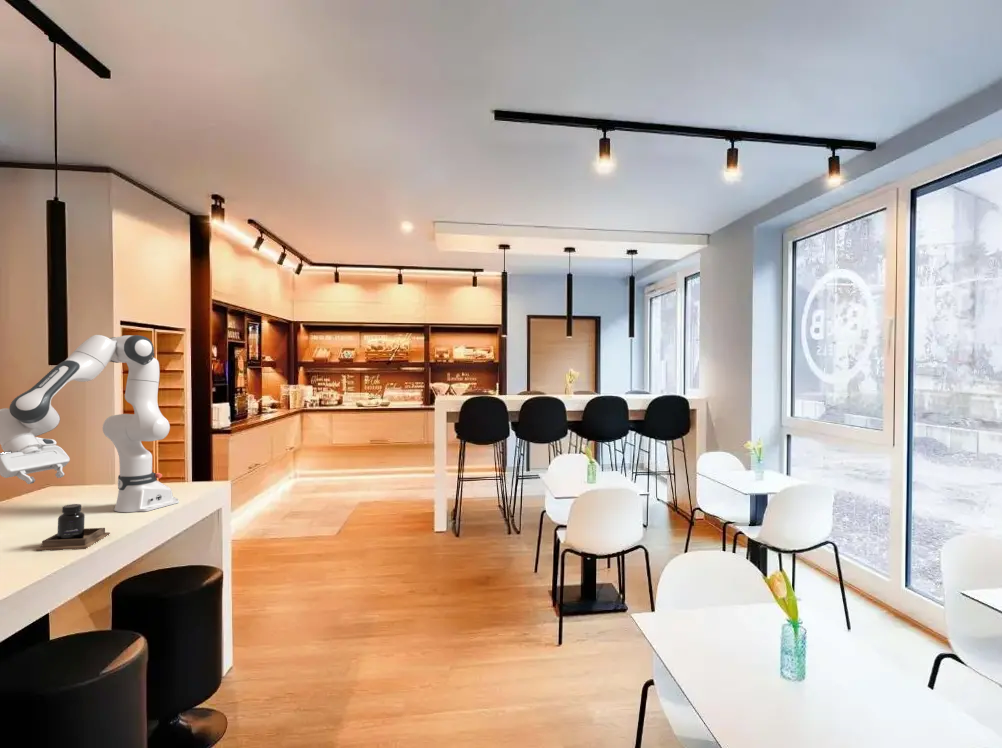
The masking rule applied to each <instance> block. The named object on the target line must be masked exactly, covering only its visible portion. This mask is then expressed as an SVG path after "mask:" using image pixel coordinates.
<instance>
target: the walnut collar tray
mask: <svg viewBox="0 0 1002 748" xmlns="http://www.w3.org/2000/svg"><path fill="white" fill-rule="evenodd" d="M57 534H58V532H57V533H56V534H55V533H54V535H51V536H50V537H47V538H45V539H43V540H42V541H41V545H40V546H39V547H37V548H36V549H35V550H36V551H35V552H43V551H42V550H50V551H64V550H63V549H72V550H87V549H89V548H90V547H91V545H92V546H94V545H95V544H97V543H99V542H100V541H102V540H103V539H105V538H106V536H107V535H108V536H110V535H109V534H111V532H106V528H105V527H91V528H90V527H88V528H84V538H83V539H60V540H57ZM108 536H107V537H108ZM104 537H105V538H104ZM101 539H102V540H101ZM99 540H100V541H99ZM98 541H99V542H98ZM96 542H97V543H96ZM94 543H95V544H94ZM93 544H94V545H93ZM88 547H89V548H88ZM86 548H87V549H86ZM39 550H41V551H39Z"/></svg>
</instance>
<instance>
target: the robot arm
mask: <svg viewBox="0 0 1002 748" xmlns="http://www.w3.org/2000/svg"><path fill="white" fill-rule="evenodd" d="M109 363H122V364H123V363H124V364H126V366H127V368H128V374H127V379H126V385H125V394H124V399H125V401H126V402H127V403H128V404H130V405H131V406H132V408H133V411H134V412H133V413H134V414H130V413H121V414H120V413H119V414H115V415H111V416H108V417H107V418H106V419H105V420H104V422H103V424H102V433H103V434H104V436H105V437H106V438H108V439H109V440H110V441H111V442H112V444H113V446H114V447H115V449H116V451H117V454H118V462H119V464H118V465H119V475H118V478H117V489H118V493H117V498H116V499H117V500H116V503H115V506H114V508H113V511H115V512H118V513H134V512H149V511H153V510H157V509H161V508H164V507H168V506H171V505H175V504H179V503H180V500H179V498H177V497H174V496H173V490H172V488H171V487H169V486H168V485H165V484H164V483H162V482H160V481H159V480H157V479H161V478H162V477H163V474H162V473H160V472H157V473H156V472H153V454H152V453H151V452H150V450H148V449H146V448H145V446H144V445H143V443H142V442H154V441H155V442H156V441H162V440H163V439H165V438H166V437H167V436H168V435H169V432H170V430H171V425H170V422H169V420H168V419H167V418H166V417H165V416H164V415H163V413H162V412H161V410H160V407H159V403H158V393H159V383H160V374H161V373H160V371H161V370H160V362H159V360H158V359H157V358H156V357H155V347H154V345H153V342H152V340H151V339H150V338H148V337H146V336H143V335H138V334H134V335H129V334H128V335H126V334H125V335H122V336H116V337H115V336H113V337H108V336H105V335H101V334H95V335H94V334H93V335H91V336H90V337H88V338H87V339H86V340H85V341H83V342H82V343H81V344H80V345H79V346H77V348H76V349H75V350H74V351H73V352H72V353H71V354H70V355H69V356H68V357H67V358H66V359H65V360H64V361H61V362H60V363H58V364H57V365H55V366H54V367H53V368H52V369H50V371H48V372H47V373H46V374H45V376H43V377H42V378H41V379H39V380H38V382H37V383H36V384H34V385H33V386H32V387H31V388H30V389H28V390H27V391H25V392H23V393H20V394H19V395H17V396H16V397H15V398H13V399H12V401H11V402H10V404H9V408H7V407H5V408H0V447H1V450H3V452H0V476H1V478H4V479H7V478H12V477H13V478H14V477H17V478H18V479H19V480H21V481H25V483H26V484H27V485H31V484H34V483H35V482H36V479H35V477H34V476H30V474H33V473H39V472H44V471H49V470H54V471H56V473H55V474H54V476H55V477H56V478H57V479H59V478H63V477H64V476H65V472H64V471H63V468H64V467H66V466H67V465H68V464H69V463H70V461H71V458H70V456H69V455H68V453H67V452H66V451H65V450H64V449H63V448H62V447H61V446H59V445H58V444H57V441H56V440H55V439H53V438H52V439H51V438H43V437H38V436H40V435H43V434H47V433H49V432H51V431H53V430H55V429H56V428H57V427H58V426H59V424H60V421H61V417H60V414H59V412H58V411H57V410H56V409H55V408H54V406H53V405H52V399H53V398H54V396H55V395H57V393H58V392H59V391H61V389H63V388H64V386H65V385H66V384H68V383H69V382H72V381H76V382H90V381H94V380H95V378H97V377H98V376H100V374H101V373H102V372H103V370H104V369H105V368H106V367H107V366H108V364H109Z"/></svg>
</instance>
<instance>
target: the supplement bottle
mask: <svg viewBox="0 0 1002 748" xmlns="http://www.w3.org/2000/svg"><path fill="white" fill-rule="evenodd" d="M61 509H62V511H61V512H62V514H60V515H59V516H58V518H57V533H58V534H57V533H56V534H57V540H60V539H83V538H84V529H85V520H86V519H85V518H86V517H85V514H84V512H82V504H79V503H72V504H65V505H63V506H62V508H61Z"/></svg>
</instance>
